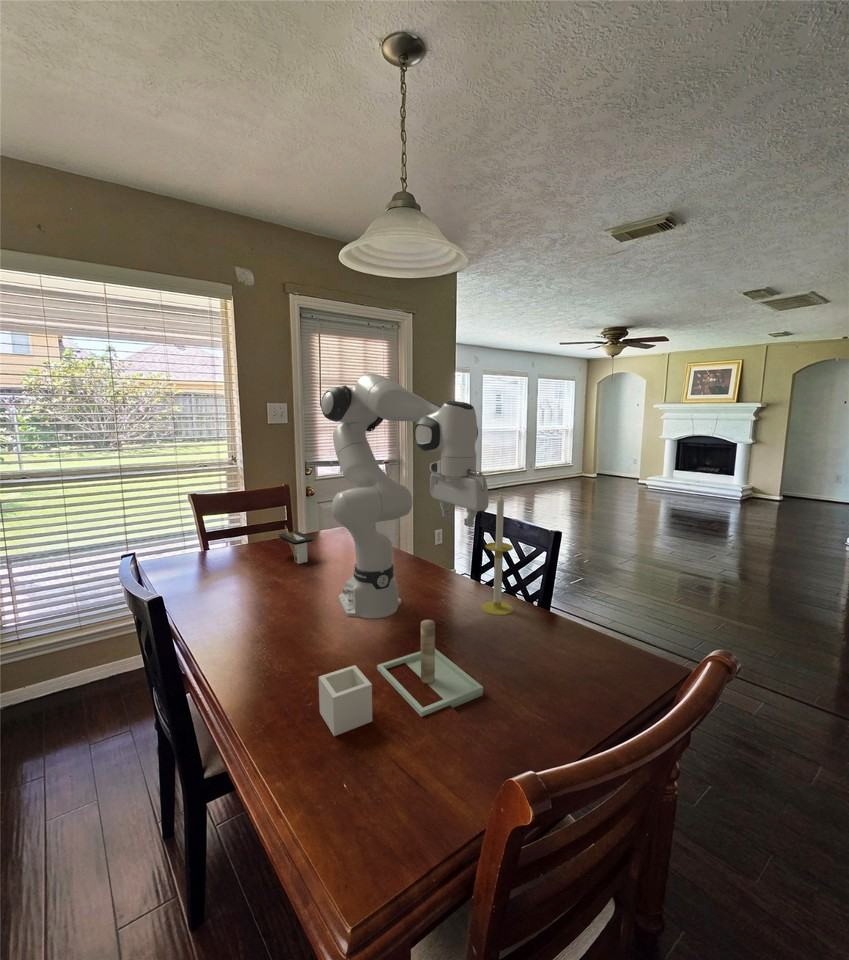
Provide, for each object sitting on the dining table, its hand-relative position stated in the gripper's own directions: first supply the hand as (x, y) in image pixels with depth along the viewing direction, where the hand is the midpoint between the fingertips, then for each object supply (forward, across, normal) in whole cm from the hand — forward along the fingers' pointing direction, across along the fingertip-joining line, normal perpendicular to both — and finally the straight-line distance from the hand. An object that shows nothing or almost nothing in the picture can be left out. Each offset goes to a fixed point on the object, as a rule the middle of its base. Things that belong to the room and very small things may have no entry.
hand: (457, 521), depth 116 cm
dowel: (+33, -10, +15) cm, 38 cm away
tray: (+34, -10, +15) cm, 39 cm away
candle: (+34, +12, -25) cm, 44 cm away
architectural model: (+35, +92, +15) cm, 99 cm away
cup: (+34, -12, +36) cm, 51 cm away
